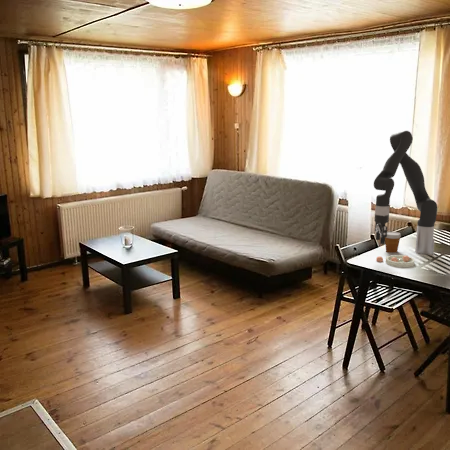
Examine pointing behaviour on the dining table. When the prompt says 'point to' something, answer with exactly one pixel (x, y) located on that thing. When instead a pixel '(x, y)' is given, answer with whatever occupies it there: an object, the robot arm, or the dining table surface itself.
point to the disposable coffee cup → (392, 241)
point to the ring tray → (399, 261)
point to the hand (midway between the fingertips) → (380, 241)
